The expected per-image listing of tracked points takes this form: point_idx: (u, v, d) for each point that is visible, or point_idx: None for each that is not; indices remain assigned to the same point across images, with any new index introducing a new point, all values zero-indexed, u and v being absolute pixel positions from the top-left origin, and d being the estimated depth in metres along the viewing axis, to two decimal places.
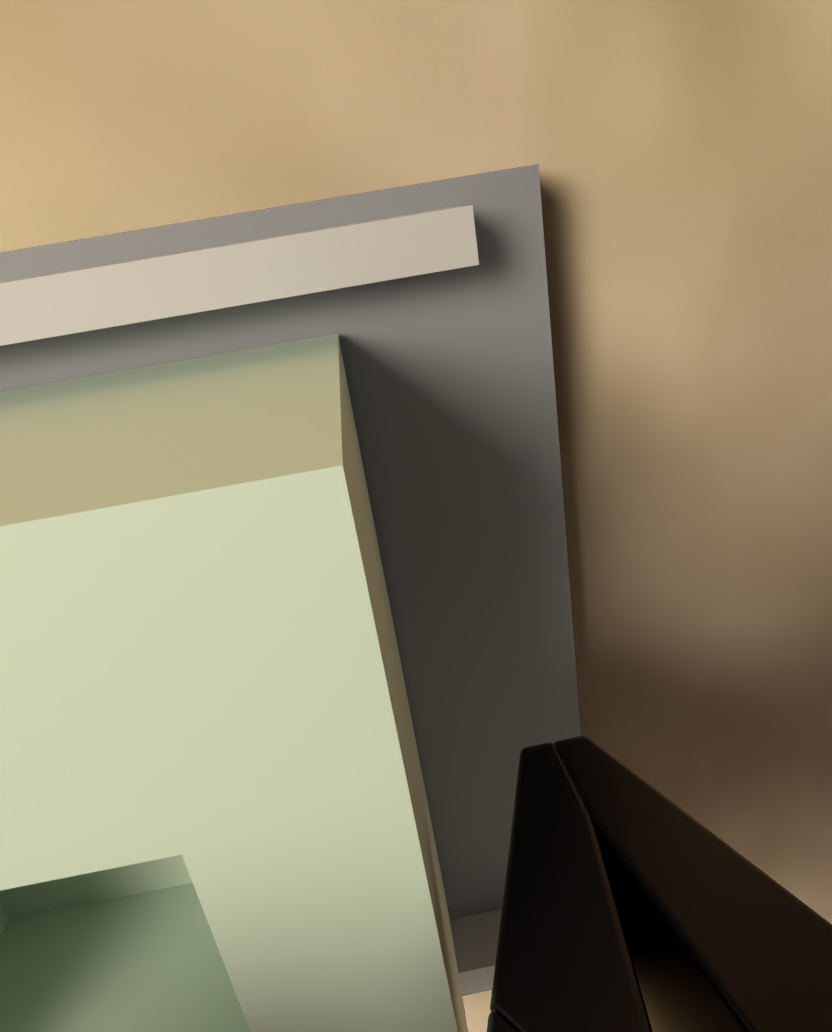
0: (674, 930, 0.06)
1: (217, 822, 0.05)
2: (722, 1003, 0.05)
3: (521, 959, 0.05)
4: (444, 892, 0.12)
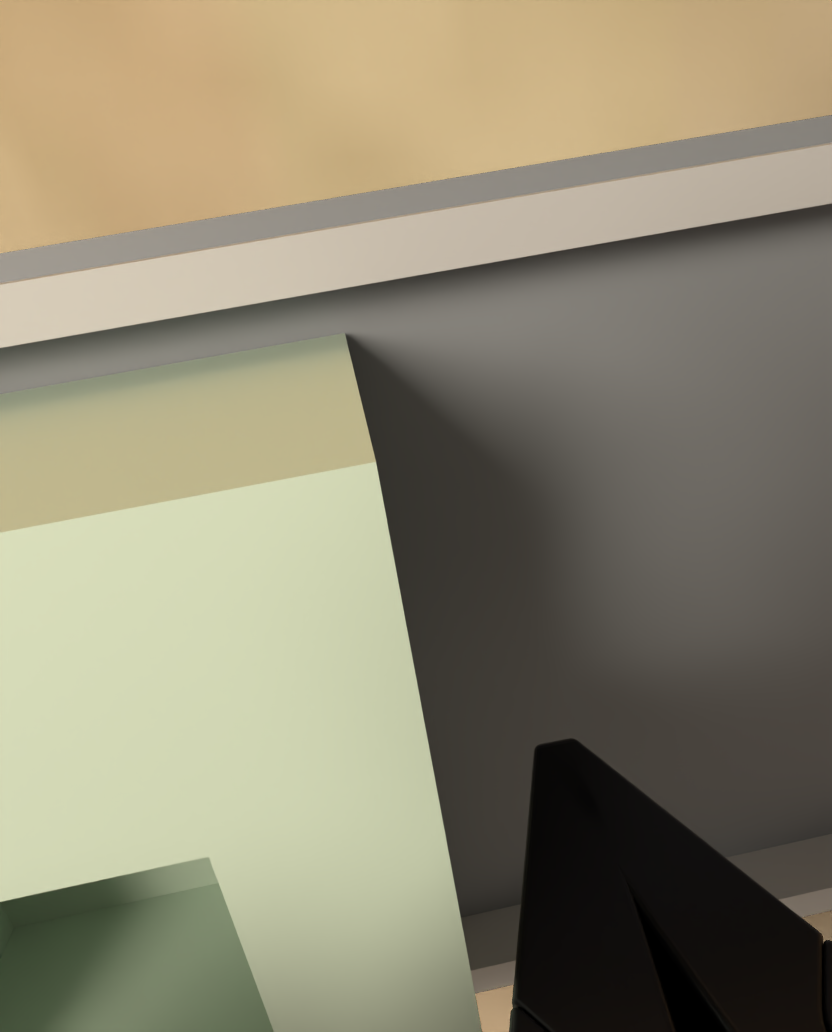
0: (658, 933, 0.06)
1: (245, 823, 0.05)
2: (704, 1006, 0.05)
3: (542, 955, 0.05)
4: None
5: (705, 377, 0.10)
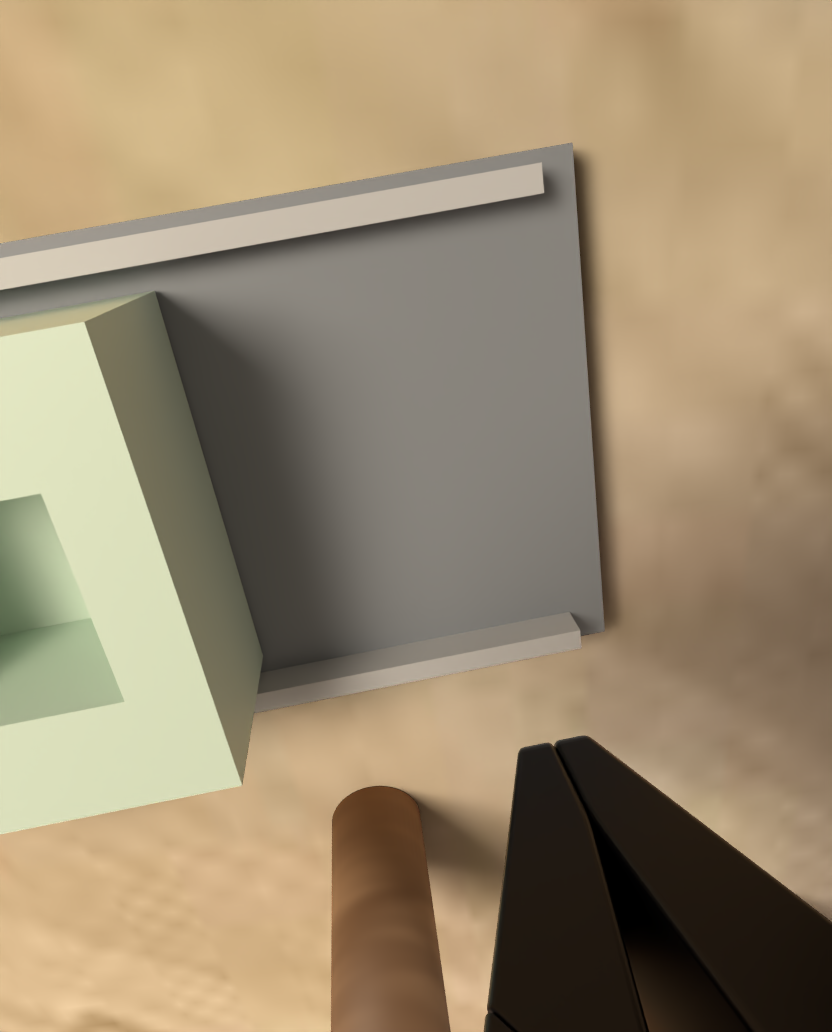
0: (677, 929, 0.06)
1: (54, 478, 0.13)
2: (725, 1002, 0.05)
3: (518, 960, 0.05)
4: (257, 644, 0.20)
5: (365, 317, 0.17)
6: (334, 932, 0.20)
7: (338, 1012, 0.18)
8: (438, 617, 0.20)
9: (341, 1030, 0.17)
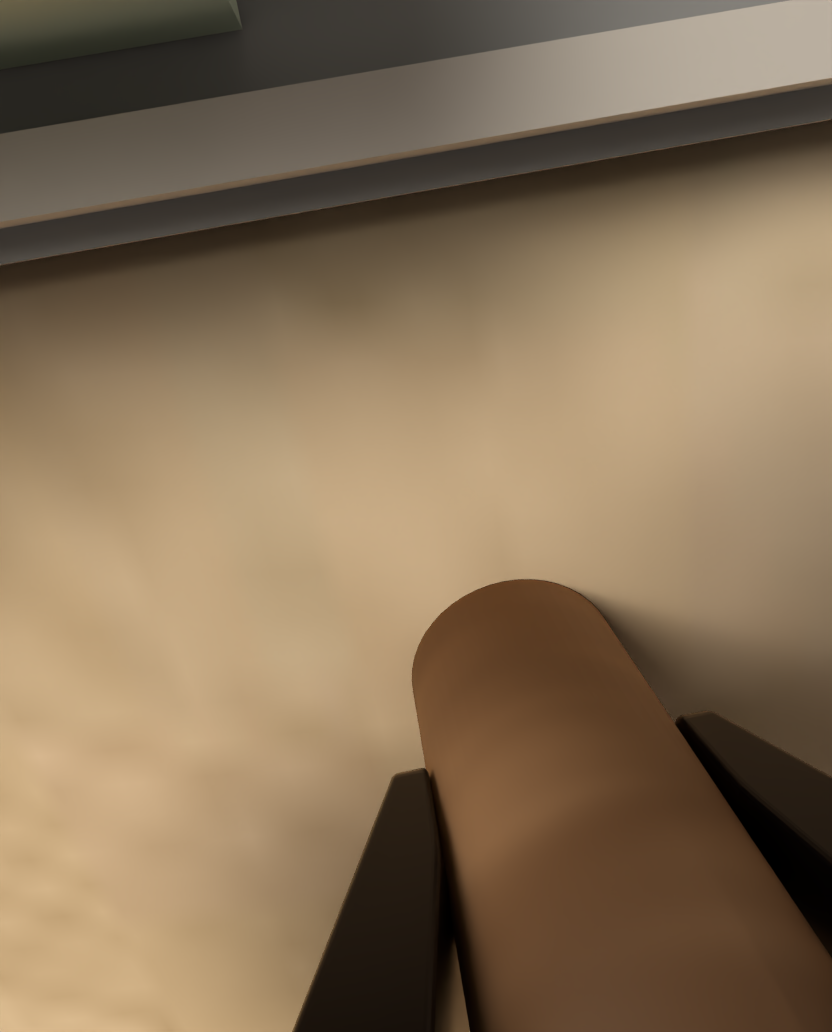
0: None
1: None
2: None
3: (326, 1001, 0.05)
4: None
5: None
6: (476, 932, 0.06)
7: None
8: None
9: None
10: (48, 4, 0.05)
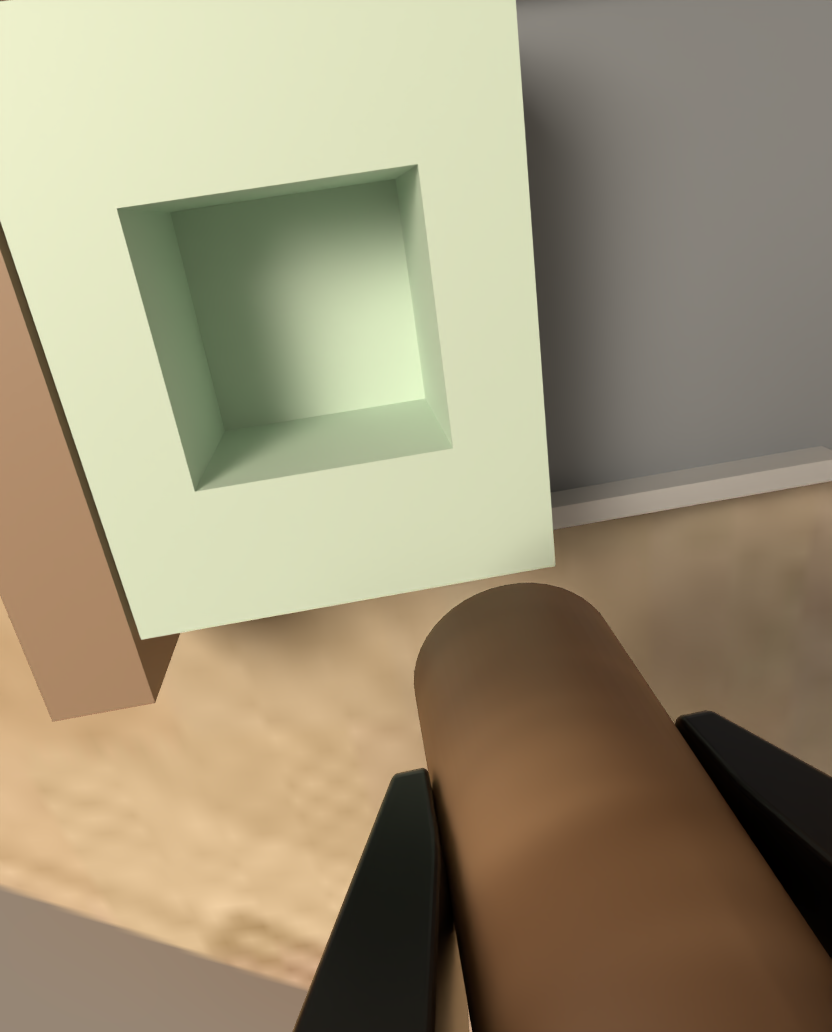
0: None
1: (436, 144, 0.11)
2: None
3: (326, 1000, 0.05)
4: None
5: (668, 74, 0.16)
6: (479, 937, 0.06)
7: None
8: (686, 445, 0.19)
9: None
10: None
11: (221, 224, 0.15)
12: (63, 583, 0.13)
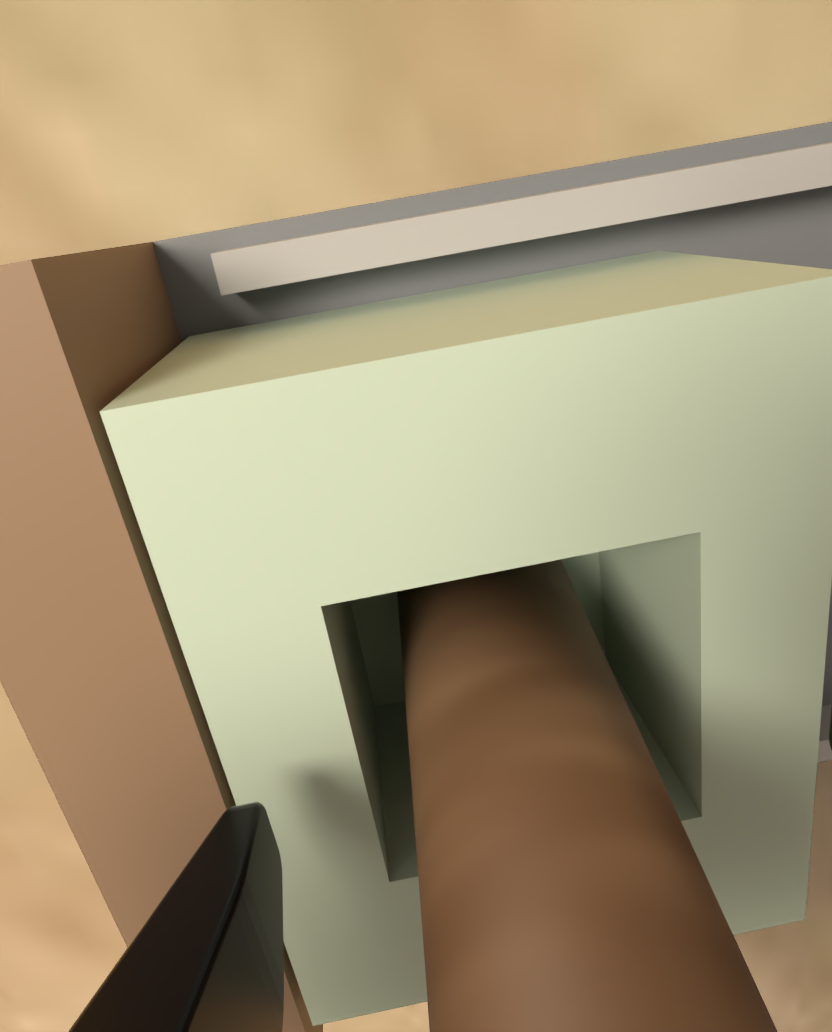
0: None
1: (726, 509, 0.09)
2: None
3: None
4: None
5: None
6: (420, 756, 0.09)
7: (452, 935, 0.07)
8: None
9: (467, 985, 0.06)
10: None
11: None
12: None
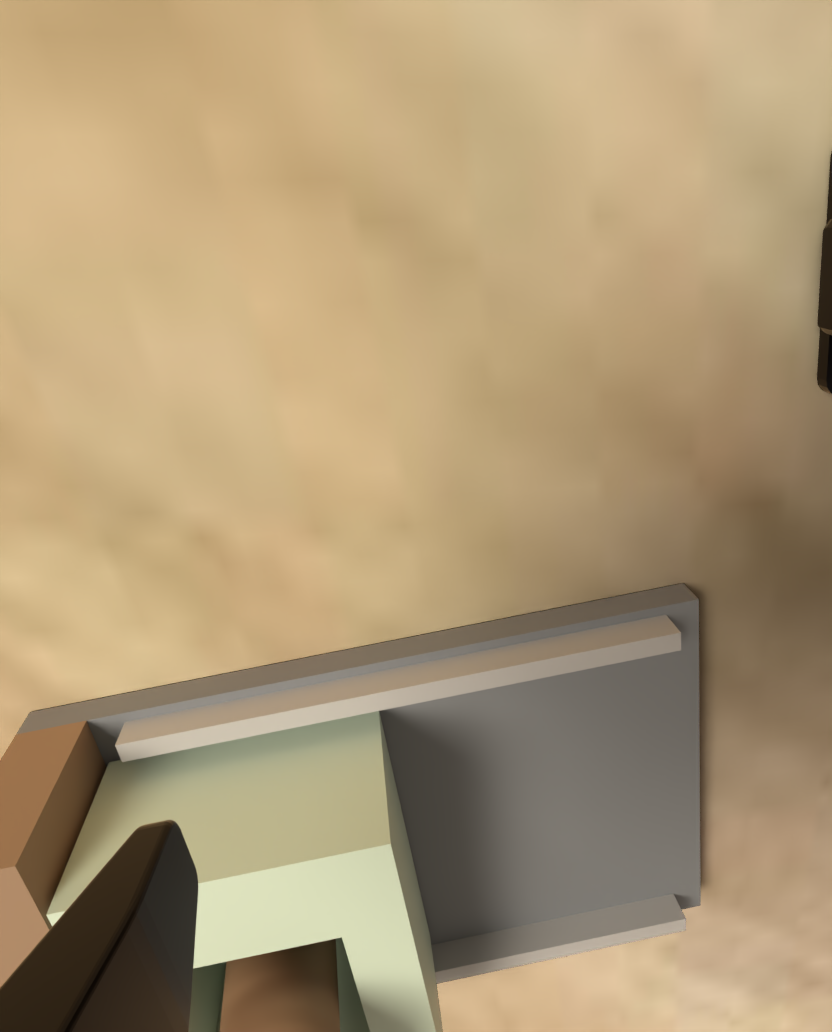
0: None
1: (352, 928, 0.18)
2: None
3: None
4: (428, 932, 0.25)
5: (533, 713, 0.22)
6: (220, 1030, 0.18)
7: None
8: (569, 902, 0.25)
9: None
10: None
11: None
12: None
